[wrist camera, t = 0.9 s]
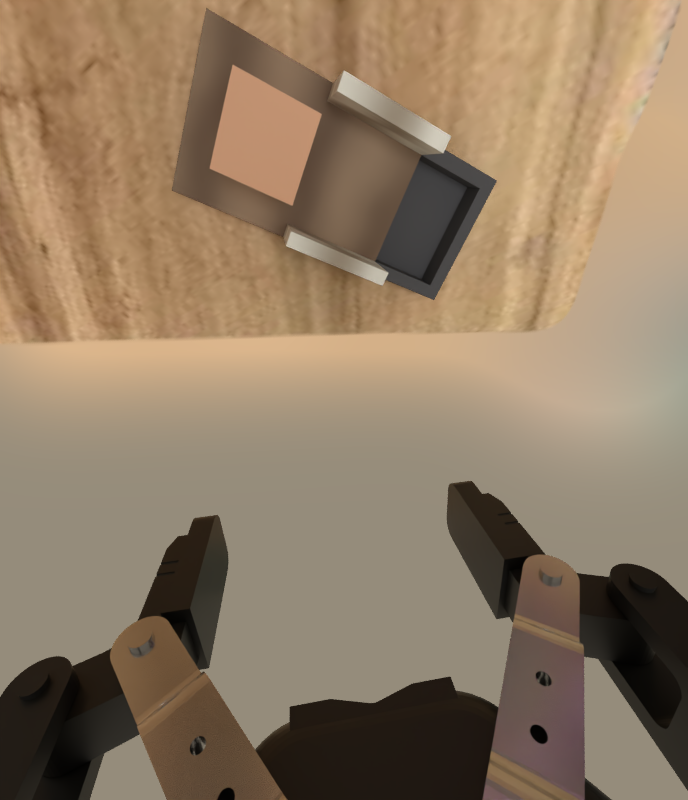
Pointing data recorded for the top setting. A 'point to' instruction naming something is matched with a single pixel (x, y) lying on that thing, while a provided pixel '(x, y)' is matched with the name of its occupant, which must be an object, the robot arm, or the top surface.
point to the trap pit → (433, 222)
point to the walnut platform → (328, 159)
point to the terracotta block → (263, 137)
